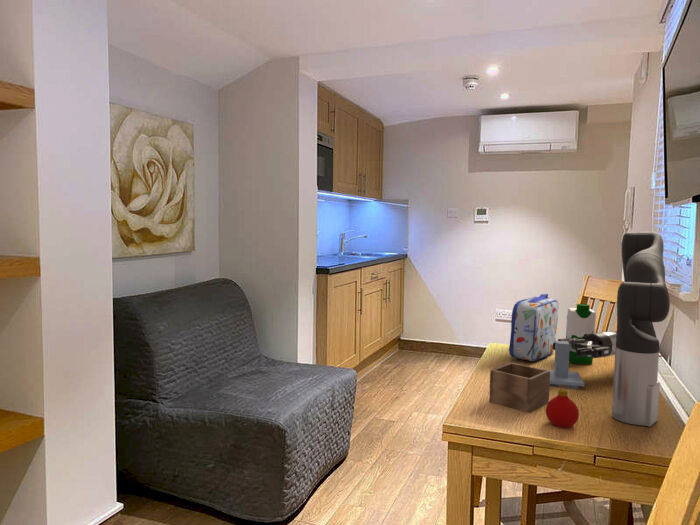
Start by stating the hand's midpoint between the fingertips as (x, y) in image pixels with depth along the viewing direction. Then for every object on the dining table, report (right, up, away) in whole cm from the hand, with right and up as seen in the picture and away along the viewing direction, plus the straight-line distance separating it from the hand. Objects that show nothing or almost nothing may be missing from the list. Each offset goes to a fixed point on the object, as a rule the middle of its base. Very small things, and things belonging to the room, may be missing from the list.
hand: (564, 349), depth 154 cm
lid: (-1, -10, 0) cm, 10 cm away
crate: (-20, -11, -18) cm, 29 cm away
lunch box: (+2, -8, +32) cm, 33 cm away
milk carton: (+15, -8, +26) cm, 31 cm away
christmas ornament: (-14, -13, -33) cm, 38 cm away
